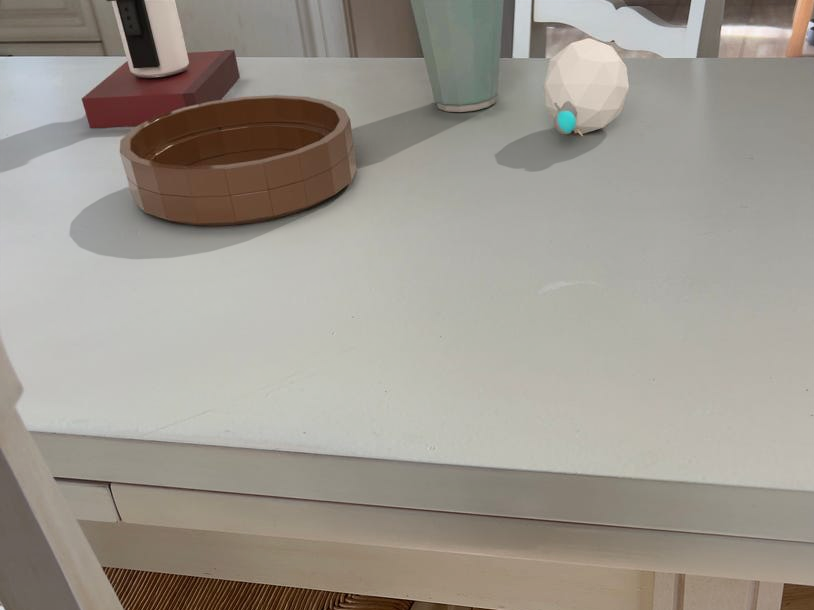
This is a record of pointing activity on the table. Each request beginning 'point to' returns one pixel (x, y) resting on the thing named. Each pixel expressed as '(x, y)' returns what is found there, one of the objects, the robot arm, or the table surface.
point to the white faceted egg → (585, 86)
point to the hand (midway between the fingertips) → (157, 57)
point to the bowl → (239, 159)
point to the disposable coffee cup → (461, 50)
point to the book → (160, 90)
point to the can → (160, 39)
